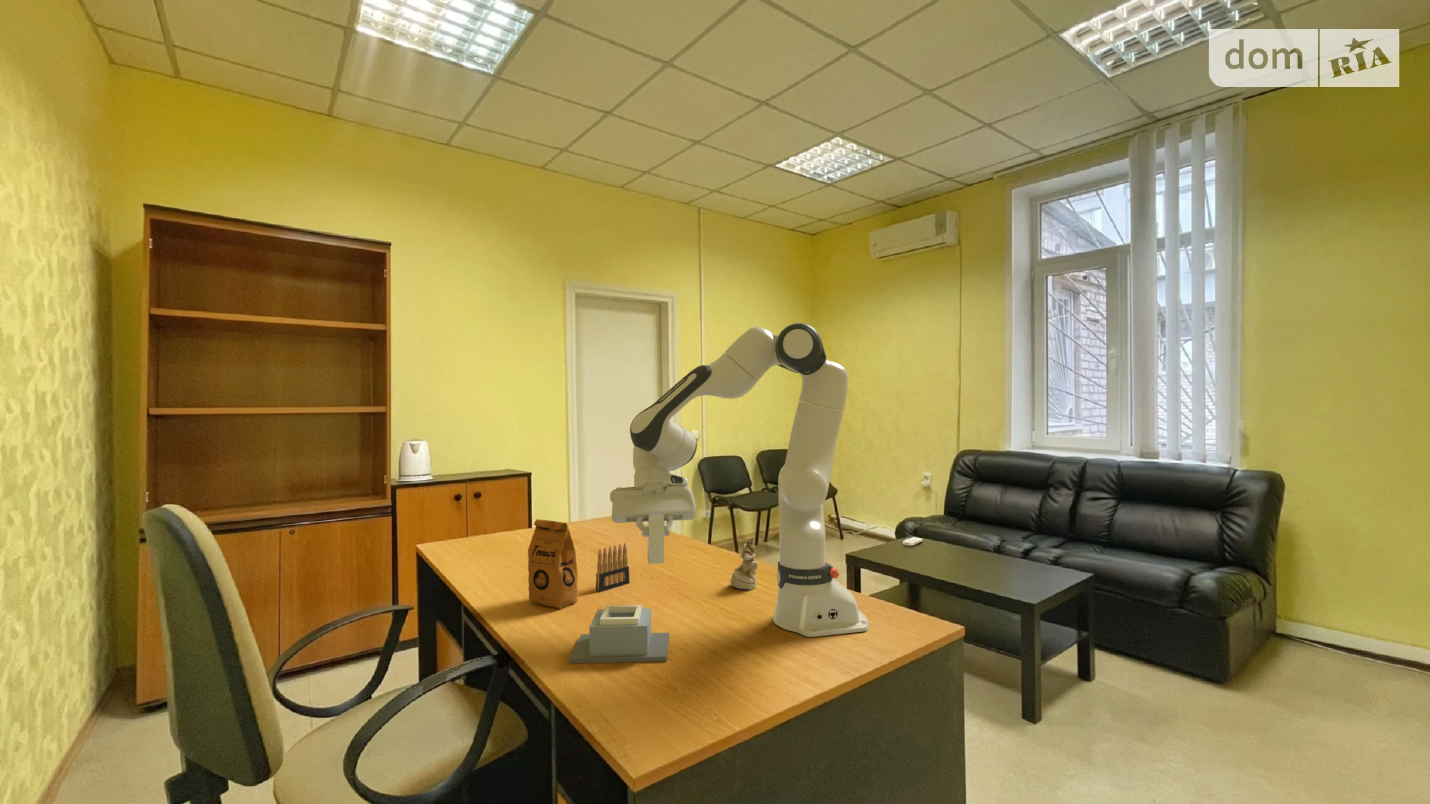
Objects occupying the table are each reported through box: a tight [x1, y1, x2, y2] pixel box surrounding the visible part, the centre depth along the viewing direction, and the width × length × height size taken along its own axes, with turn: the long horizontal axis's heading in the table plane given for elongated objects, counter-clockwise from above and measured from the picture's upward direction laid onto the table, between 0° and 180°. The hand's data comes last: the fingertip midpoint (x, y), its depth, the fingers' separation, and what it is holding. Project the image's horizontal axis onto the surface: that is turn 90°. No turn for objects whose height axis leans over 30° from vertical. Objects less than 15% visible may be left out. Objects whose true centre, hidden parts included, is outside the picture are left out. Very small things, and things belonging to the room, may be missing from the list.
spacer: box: [600, 604, 643, 625], centre depth 123 cm, size 8×8×1 cm
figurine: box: [730, 537, 759, 591], centre depth 164 cm, size 7×7×15 cm
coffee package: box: [527, 518, 579, 610], centre depth 152 cm, size 10×12×22 cm
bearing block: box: [568, 607, 670, 664], centre depth 123 cm, size 20×12×7 cm, turn 92°
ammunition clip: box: [595, 542, 631, 593], centre depth 164 cm, size 11×2×12 cm, turn 137°
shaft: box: [647, 513, 665, 565], centre depth 133 cm, size 4×4×11 cm
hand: (655, 535), depth 132 cm, fingers closed on shaft, 3 cm apart
